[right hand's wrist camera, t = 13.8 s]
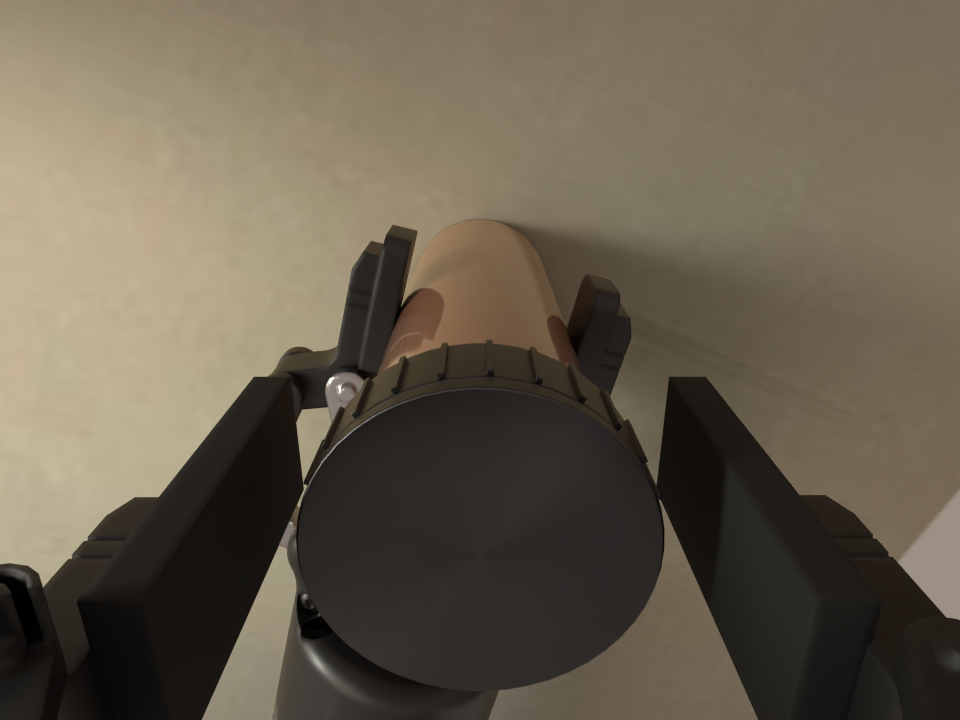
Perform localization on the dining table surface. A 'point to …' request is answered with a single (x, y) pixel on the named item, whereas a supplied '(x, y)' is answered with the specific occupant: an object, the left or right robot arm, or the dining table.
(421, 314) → the jar
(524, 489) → the lid
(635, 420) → the dining table surface
